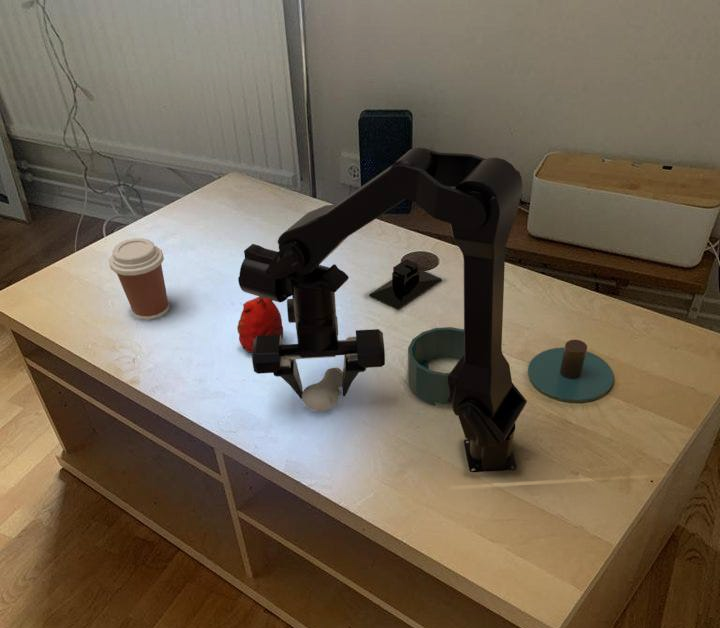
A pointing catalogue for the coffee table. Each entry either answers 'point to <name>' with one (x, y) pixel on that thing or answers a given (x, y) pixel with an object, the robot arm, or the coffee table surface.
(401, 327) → the coffee table surface
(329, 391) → the pale two-lobed sculpture
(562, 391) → the tin lid
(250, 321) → the red fruit with stem
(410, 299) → the build plate
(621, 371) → the coffee table surface
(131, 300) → the coffee cup
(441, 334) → the tin
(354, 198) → the robot arm
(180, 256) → the coffee table surface
